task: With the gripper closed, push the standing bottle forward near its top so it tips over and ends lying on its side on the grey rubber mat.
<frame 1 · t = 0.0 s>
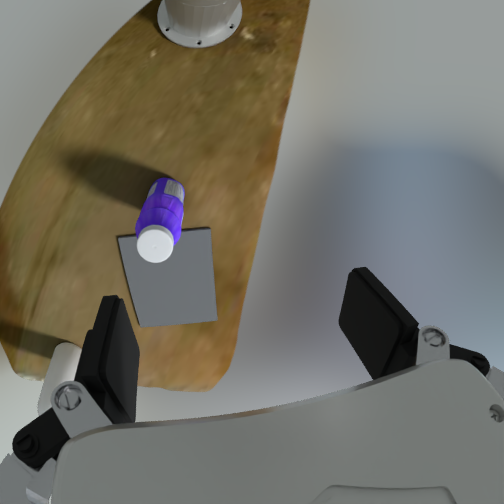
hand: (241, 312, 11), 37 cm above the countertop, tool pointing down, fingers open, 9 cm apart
alcohol: (72, 353, 56), on the countertop
mat: (170, 281, 52), on the countertop
bottle: (165, 197, 45), on the countertop
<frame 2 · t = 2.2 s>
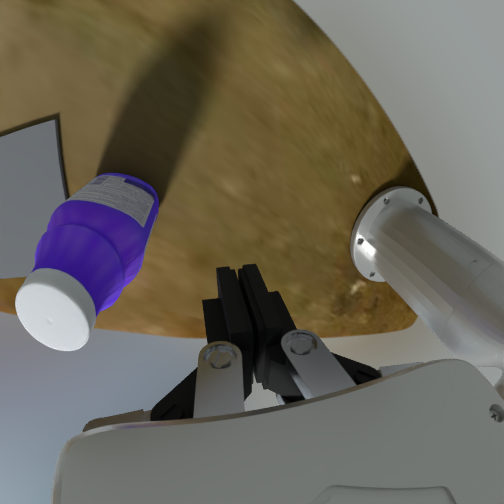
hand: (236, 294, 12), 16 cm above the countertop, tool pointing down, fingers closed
bottle: (124, 199, 26), on the countertop
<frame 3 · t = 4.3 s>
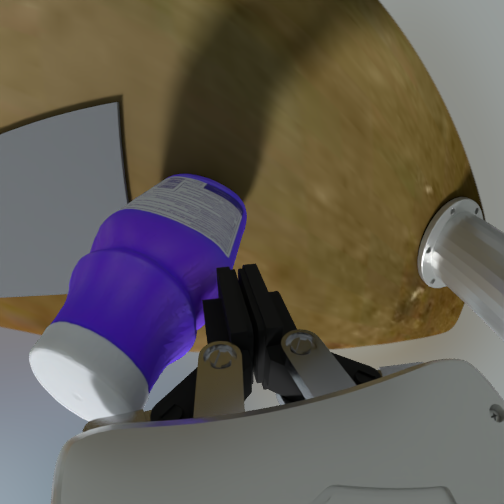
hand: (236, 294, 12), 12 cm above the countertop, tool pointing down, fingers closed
mat: (29, 216, 20), on the countertop
bottle: (202, 207, 22), point 1 cm above the countertop
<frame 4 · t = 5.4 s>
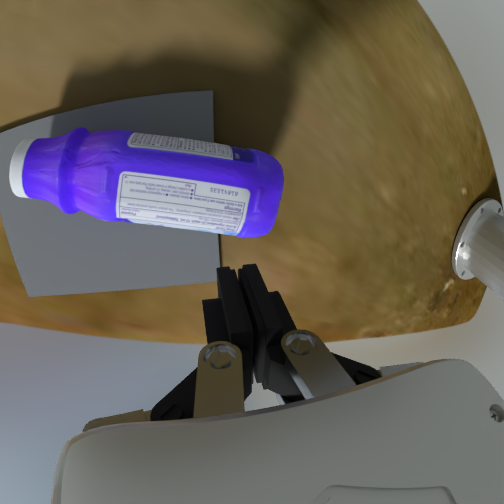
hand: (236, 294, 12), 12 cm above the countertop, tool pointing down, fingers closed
mat: (94, 205, 21), on the countertop
bottle: (270, 195, 19), point 4 cm above the countertop, touching mat
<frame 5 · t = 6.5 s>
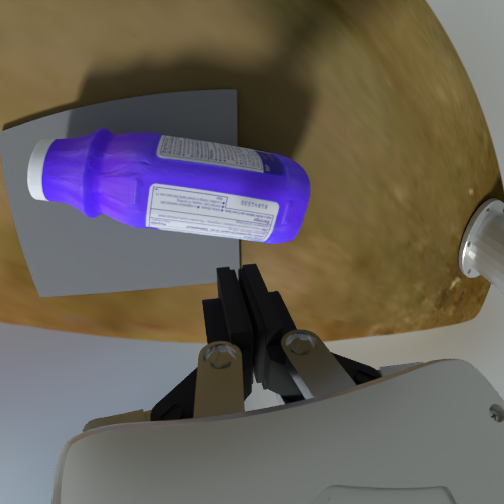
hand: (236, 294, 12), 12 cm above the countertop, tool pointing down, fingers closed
mat: (112, 202, 21), on the countertop
bottle: (293, 200, 20), point 4 cm above the countertop, touching mat
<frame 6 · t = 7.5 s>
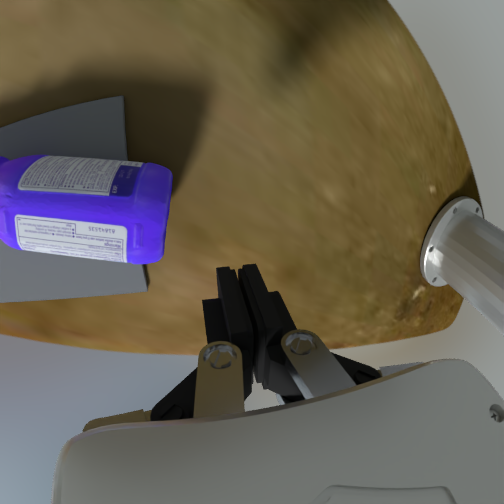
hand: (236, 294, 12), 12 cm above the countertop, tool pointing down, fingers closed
mat: (26, 217, 19), on the countertop
bottle: (172, 213, 18), point 4 cm above the countertop, touching mat
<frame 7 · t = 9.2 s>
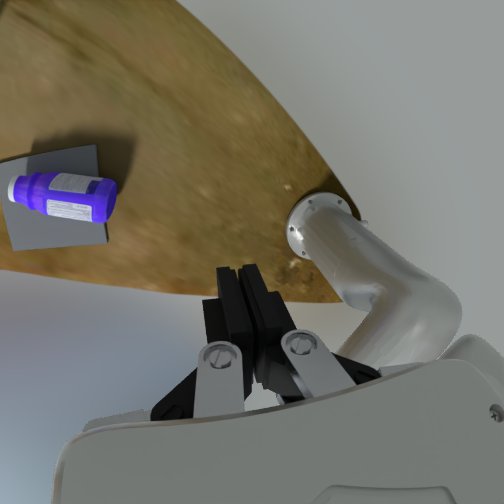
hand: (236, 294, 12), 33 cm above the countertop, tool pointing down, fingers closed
mat: (47, 201, 38), on the countertop
bottle: (114, 201, 37), point 4 cm above the countertop, touching mat
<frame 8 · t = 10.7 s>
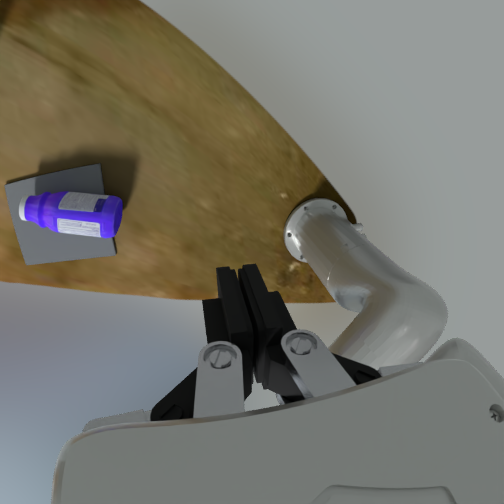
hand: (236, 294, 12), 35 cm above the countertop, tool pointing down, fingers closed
mat: (57, 218, 41), on the countertop
bottle: (120, 217, 40), point 4 cm above the countertop, touching mat
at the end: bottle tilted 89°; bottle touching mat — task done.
